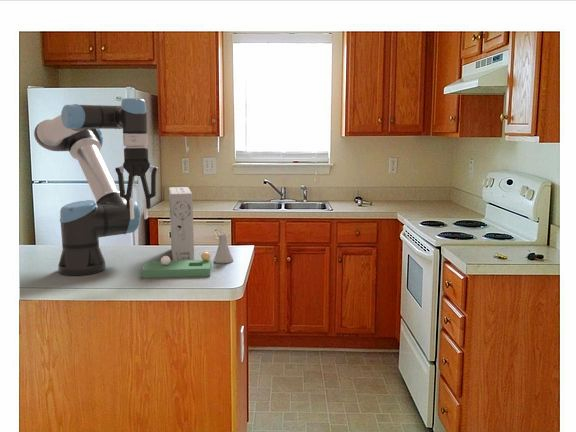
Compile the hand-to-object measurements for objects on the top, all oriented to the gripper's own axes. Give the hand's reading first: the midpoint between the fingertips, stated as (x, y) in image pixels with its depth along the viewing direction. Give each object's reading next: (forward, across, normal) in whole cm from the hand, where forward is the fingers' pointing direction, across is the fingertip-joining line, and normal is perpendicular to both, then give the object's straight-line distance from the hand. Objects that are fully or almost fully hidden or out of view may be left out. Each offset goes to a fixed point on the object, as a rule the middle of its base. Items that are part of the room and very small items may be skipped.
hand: (139, 218), depth 174 cm
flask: (+19, +27, +13) cm, 35 cm away
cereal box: (+19, +11, +25) cm, 33 cm away
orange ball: (+15, +21, +4) cm, 26 cm away
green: (+19, +12, 0) cm, 22 cm away
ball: (+15, +8, 0) cm, 17 cm away
